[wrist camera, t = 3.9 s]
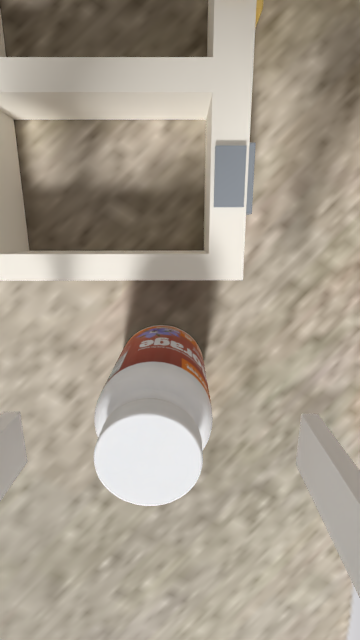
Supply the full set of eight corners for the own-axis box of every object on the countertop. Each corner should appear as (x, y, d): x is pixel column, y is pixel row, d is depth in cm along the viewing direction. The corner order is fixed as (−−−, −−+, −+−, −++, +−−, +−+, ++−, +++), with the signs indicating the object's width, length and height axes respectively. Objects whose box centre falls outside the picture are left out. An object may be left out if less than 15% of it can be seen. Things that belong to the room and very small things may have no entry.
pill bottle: (217, 345, 24) (249, 435, 13) (180, 410, 25) (180, 540, 15) (143, 308, 23) (111, 371, 12) (108, 377, 25) (53, 488, 14)
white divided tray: (3, 272, 22) (-37, 281, 18) (-52, -113, 17) (-126, -223, 13) (237, 272, 22) (250, 280, 18) (254, -112, 17) (278, -223, 13)
